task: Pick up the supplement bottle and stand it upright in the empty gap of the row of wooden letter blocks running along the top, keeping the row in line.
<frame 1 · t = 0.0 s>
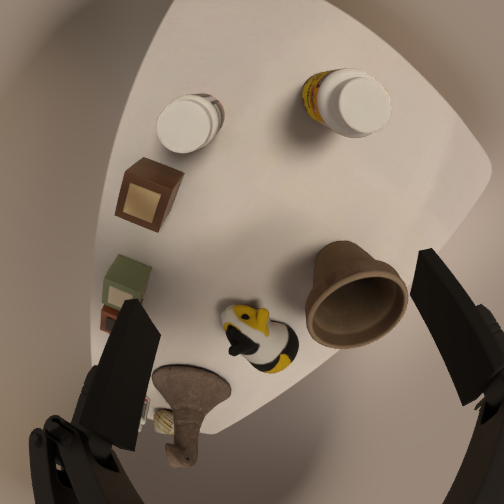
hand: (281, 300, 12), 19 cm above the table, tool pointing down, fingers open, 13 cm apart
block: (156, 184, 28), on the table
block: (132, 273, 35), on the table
supplement bottle: (326, 98, 23), on the table
block end: (126, 303, 38), on the table
sculpture: (191, 382, 52), on the table
pill bottle: (201, 115, 24), on the table
seashell: (173, 412, 64), on the table
figurine: (259, 320, 40), on the table
pill bottle 2: (140, 396, 59), on the table
flower pot: (337, 259, 34), on the table
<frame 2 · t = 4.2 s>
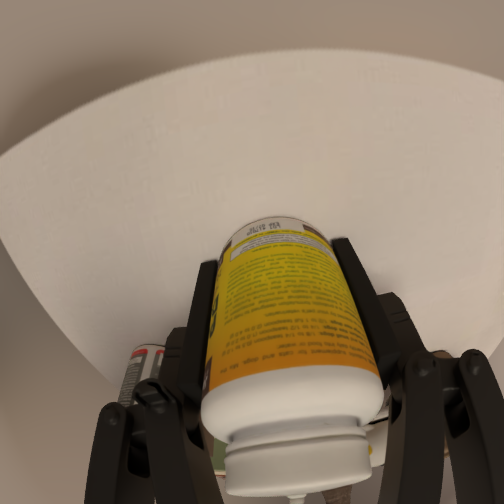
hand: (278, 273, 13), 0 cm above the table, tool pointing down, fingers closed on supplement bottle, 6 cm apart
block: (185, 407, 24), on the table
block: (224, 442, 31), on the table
supplement bottle: (275, 260, 13), on the table, touching gripper
sculpture: (332, 459, 44), on the table
pill bottle: (162, 359, 19), on the table
figurine: (364, 424, 30), on the table
pill bottle 2: (295, 473, 54), on the table
flower pot: (419, 368, 21), on the table
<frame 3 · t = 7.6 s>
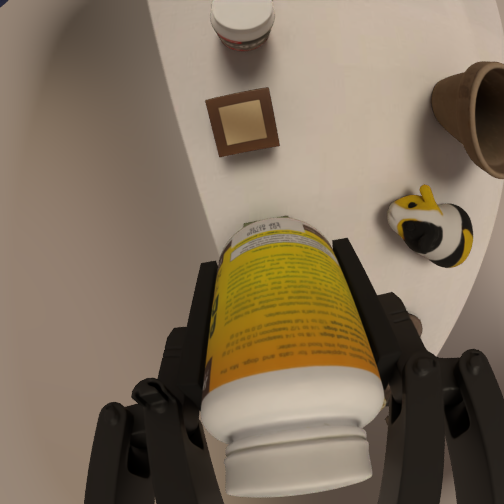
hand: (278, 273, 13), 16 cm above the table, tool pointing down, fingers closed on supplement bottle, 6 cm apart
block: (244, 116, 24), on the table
supplement bottle: (275, 261, 13), point 16 cm above the table, touching gripper
sculpture: (379, 340, 44), on the table
pill bottle: (243, 30, 19), on the table
figurine: (420, 214, 30), on the table
flower pot: (447, 103, 21), on the table
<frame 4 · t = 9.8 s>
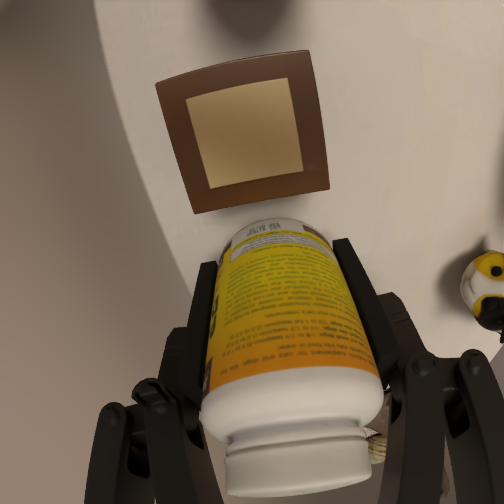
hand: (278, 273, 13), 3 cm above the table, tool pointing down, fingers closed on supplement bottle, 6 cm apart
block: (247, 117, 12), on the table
supplement bottle: (275, 261, 13), point 3 cm above the table, touching gripper
sculpture: (407, 396, 32), on the table
seashell: (383, 432, 45), on the table
figurine: (486, 267, 18), on the table
when the fingers open (0 cm above the table, at t = 11.1 s): supplement bottle stays where it is, on the table.
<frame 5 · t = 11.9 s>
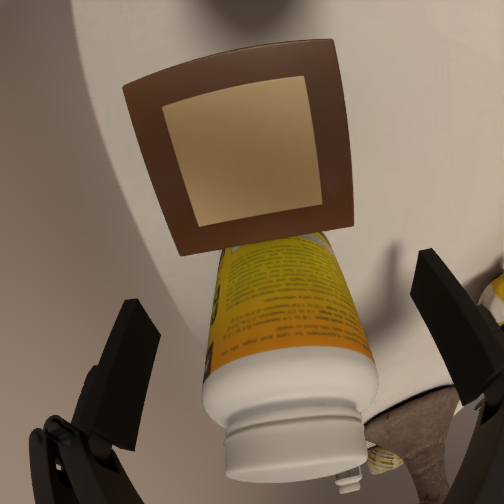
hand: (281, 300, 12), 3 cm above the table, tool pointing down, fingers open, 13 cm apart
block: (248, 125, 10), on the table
supplement bottle: (275, 255, 14), on the table
sculpture: (411, 410, 30), on the table
seashell: (386, 443, 42), on the table
figurine: (500, 285, 16), on the table
pill bottle 2: (344, 450, 41), on the table
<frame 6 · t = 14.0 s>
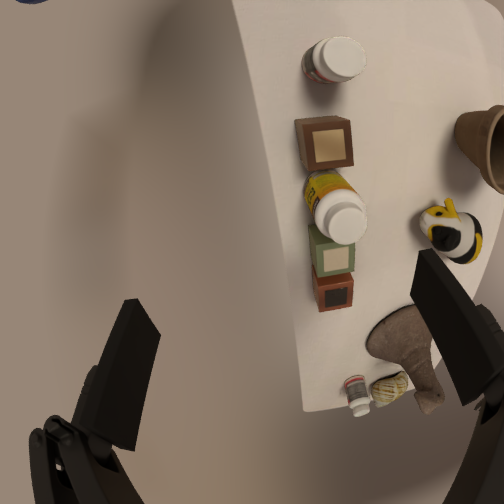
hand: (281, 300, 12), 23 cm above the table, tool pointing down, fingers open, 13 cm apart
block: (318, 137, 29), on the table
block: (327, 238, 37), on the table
supplement bottle: (323, 188, 33), on the table
block end: (328, 275, 40), on the table
sculpture: (402, 329, 49), on the table
pill bottle: (321, 64, 24), on the table
seashell: (386, 379, 61), on the table
figurine: (441, 221, 35), on the table
pill bottle 2: (354, 379, 59), on the table
flower pot: (466, 132, 27), on the table
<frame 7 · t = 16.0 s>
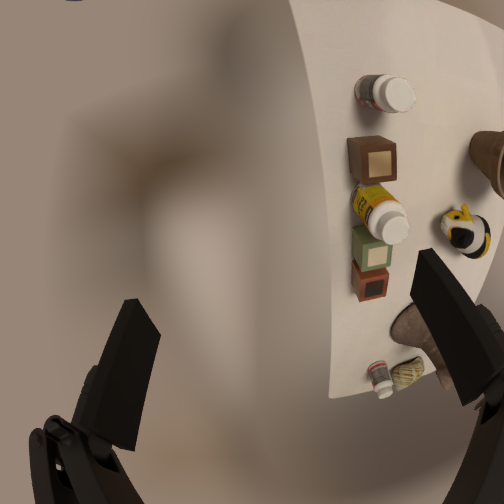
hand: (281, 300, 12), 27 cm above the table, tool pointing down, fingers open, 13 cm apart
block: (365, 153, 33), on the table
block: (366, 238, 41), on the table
supplement bottle: (366, 196, 37), on the table
block end: (364, 269, 45), on the table
sculpture: (421, 317, 54), on the table
pill bottle: (369, 91, 29), on the table
seashell: (404, 364, 66), on the table
figurine: (456, 222, 39), on the table
pill bottle 2: (376, 365, 64), on the table
flower pot: (479, 147, 31), on the table
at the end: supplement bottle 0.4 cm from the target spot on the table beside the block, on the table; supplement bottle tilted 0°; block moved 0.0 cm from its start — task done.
